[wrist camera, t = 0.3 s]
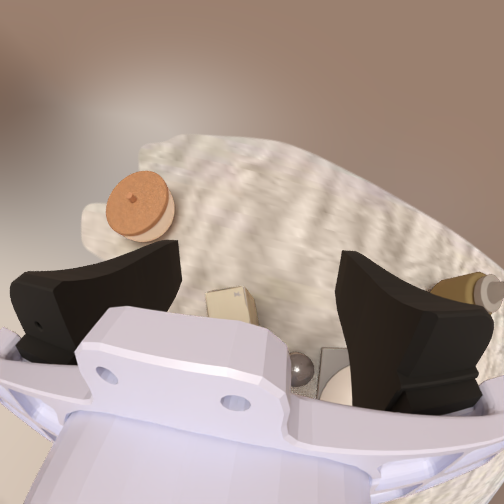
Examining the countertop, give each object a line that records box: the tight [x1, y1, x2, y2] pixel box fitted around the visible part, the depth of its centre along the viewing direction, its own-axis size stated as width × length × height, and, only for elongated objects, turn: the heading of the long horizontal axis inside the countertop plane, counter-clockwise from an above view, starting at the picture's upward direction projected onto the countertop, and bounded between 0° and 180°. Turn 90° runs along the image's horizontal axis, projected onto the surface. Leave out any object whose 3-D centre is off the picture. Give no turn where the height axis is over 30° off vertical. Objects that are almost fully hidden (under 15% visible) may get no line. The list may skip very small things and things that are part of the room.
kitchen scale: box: [316, 348, 352, 406], centre depth 32 cm, size 16×15×3 cm
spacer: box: [289, 352, 314, 387], centre depth 34 cm, size 4×4×4 cm
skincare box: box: [205, 286, 259, 326], centre depth 33 cm, size 6×4×12 cm
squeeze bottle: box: [430, 272, 504, 315], centre depth 27 cm, size 8×8×18 cm
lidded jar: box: [106, 171, 175, 242], centre depth 41 cm, size 11×11×9 cm
